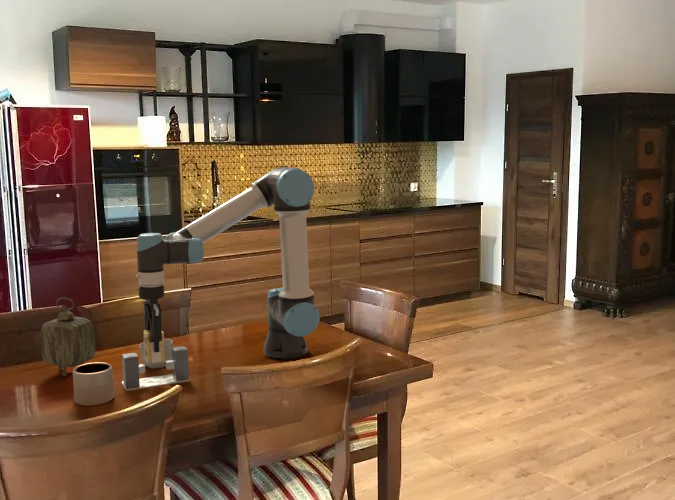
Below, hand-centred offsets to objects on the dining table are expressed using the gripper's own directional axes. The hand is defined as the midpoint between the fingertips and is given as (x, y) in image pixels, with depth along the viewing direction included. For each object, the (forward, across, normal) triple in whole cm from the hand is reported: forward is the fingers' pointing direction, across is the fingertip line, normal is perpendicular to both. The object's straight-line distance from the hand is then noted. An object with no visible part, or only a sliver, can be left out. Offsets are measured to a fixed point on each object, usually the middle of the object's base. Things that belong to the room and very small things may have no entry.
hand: (154, 359), depth 216 cm
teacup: (+8, -17, +5) cm, 19 cm away
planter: (+8, +7, -19) cm, 21 cm away
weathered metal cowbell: (+8, -20, -23) cm, 31 cm away
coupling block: (0, 0, 0) cm, 0 cm away
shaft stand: (+7, 0, 0) cm, 7 cm away
